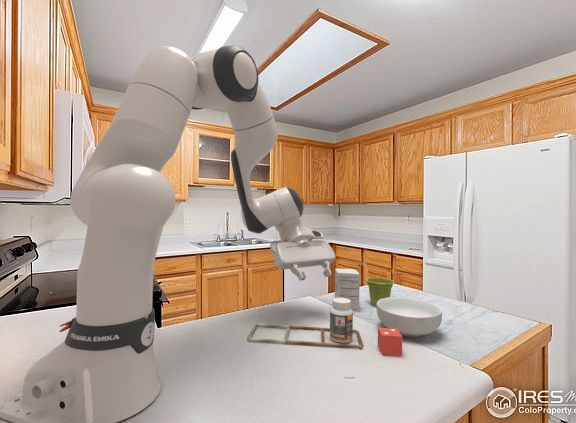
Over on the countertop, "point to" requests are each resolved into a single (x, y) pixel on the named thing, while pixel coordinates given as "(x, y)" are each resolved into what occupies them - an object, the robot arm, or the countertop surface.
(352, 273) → the supplement box
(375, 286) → the plant pot
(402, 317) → the cereal bowl
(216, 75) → the robot arm
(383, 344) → the red die
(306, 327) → the track frame
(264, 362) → the countertop surface
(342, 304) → the pill bottle
